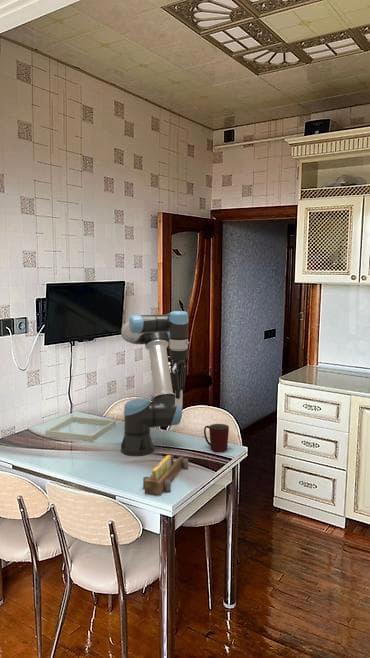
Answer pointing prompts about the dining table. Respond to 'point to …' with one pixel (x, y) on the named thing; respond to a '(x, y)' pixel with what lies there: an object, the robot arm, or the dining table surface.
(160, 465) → the candy box
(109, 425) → the tray rim
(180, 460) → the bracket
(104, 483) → the dining table surface
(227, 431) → the mug
